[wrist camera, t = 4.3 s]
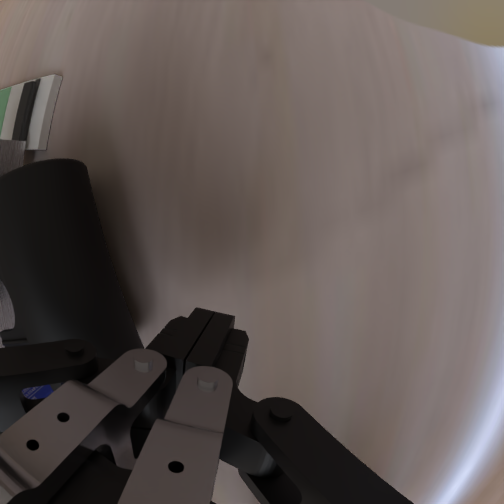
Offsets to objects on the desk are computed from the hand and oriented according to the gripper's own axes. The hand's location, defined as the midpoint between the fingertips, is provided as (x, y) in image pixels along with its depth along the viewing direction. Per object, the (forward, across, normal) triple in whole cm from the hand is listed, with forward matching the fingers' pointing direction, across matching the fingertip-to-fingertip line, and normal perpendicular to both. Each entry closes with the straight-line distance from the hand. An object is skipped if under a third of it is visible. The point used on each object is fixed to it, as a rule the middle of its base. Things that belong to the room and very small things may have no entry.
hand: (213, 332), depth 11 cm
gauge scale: (+4, +19, -9) cm, 22 cm away
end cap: (+4, +8, 0) cm, 9 cm away
